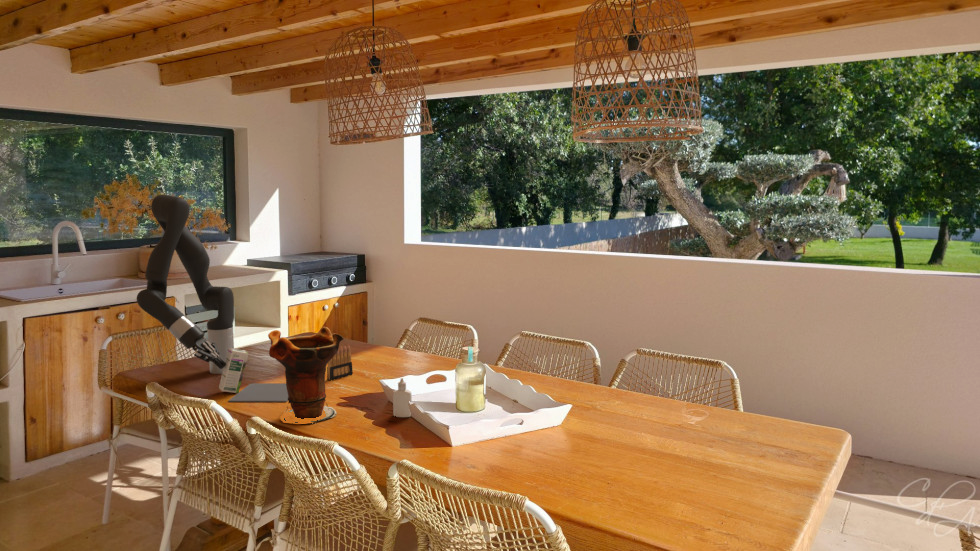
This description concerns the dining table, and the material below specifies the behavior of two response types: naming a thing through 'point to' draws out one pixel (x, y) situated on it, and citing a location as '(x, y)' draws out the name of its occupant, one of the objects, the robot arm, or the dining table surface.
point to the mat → (262, 393)
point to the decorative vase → (306, 369)
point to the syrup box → (233, 370)
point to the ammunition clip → (340, 364)
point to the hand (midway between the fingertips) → (223, 366)
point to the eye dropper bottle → (401, 400)
